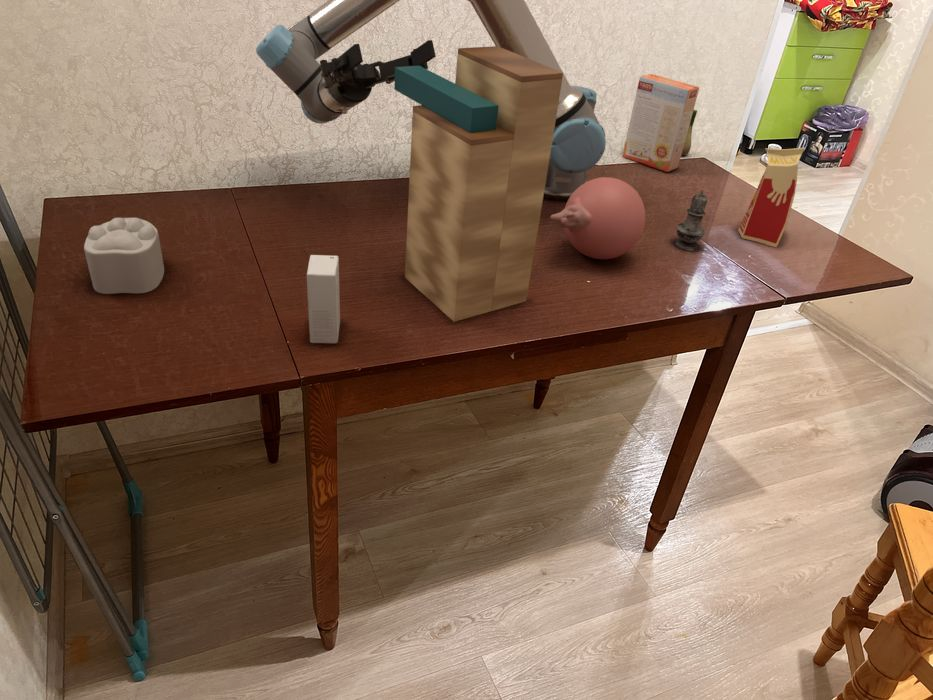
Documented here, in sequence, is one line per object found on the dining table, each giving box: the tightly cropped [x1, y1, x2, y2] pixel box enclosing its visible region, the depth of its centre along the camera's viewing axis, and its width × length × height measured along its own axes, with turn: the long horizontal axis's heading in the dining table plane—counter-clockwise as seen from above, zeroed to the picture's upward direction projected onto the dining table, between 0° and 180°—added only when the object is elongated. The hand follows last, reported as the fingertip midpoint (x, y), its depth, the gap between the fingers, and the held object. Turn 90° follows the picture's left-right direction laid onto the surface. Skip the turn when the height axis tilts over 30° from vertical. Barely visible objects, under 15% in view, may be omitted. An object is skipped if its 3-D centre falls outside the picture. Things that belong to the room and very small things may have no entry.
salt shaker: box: [673, 190, 708, 252], centre depth 144 cm, size 6×6×12 cm
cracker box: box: [622, 73, 700, 173], centre depth 181 cm, size 14×6×21 cm, turn 47°
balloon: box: [550, 176, 646, 260], centre depth 134 cm, size 15×20×15 cm
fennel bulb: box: [681, 109, 698, 156], centre depth 191 cm, size 6×5×12 cm
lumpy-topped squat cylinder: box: [83, 217, 165, 295], centre depth 116 cm, size 10×13×9 cm
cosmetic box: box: [306, 254, 341, 344], centre depth 106 cm, size 6×4×12 cm
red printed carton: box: [737, 147, 806, 249], centre depth 149 cm, size 9×9×20 cm
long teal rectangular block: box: [393, 66, 499, 133], centre depth 108 cm, size 22×4×4 cm, turn 34°
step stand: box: [404, 45, 564, 323], centre depth 113 cm, size 16×15×38 cm
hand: (396, 50), depth 115 cm, fingers open, 13 cm apart
